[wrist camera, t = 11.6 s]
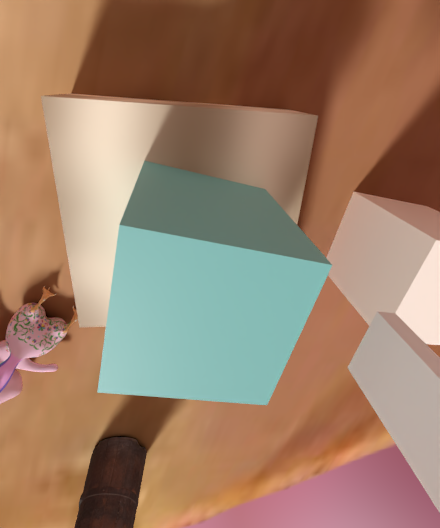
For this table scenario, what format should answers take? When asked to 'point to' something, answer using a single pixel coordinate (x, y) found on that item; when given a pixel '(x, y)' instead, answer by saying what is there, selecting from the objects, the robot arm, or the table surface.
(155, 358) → the teal block
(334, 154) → the table surface
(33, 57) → the table surface
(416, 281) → the off-white block
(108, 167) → the birch base
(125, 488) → the butter churn
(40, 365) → the pink animal figurine
